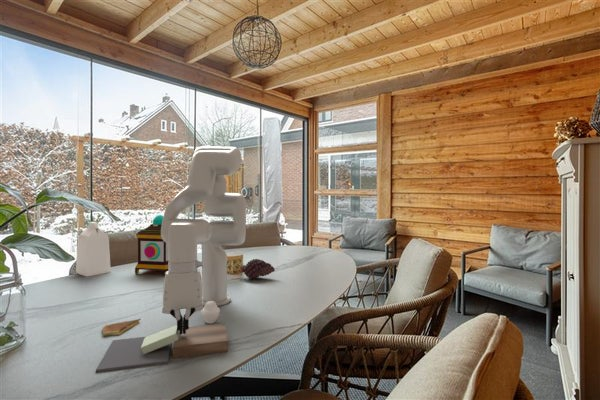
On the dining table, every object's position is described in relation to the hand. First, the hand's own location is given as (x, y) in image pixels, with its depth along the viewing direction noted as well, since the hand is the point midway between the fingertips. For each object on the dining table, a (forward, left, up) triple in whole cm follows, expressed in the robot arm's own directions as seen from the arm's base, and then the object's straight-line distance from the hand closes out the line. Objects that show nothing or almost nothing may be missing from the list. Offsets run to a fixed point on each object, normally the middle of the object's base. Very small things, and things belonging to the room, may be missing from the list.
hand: (182, 332), depth 91 cm
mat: (0, -11, -4) cm, 12 cm away
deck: (0, +5, -4) cm, 6 cm away
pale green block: (0, -6, -1) cm, 6 cm away
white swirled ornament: (-16, +8, -4) cm, 18 cm away
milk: (-97, -49, -4) cm, 108 cm away
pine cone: (-64, +31, -4) cm, 71 cm away
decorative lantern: (-91, -16, -4) cm, 93 cm away
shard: (-18, -20, -5) cm, 28 cm away
